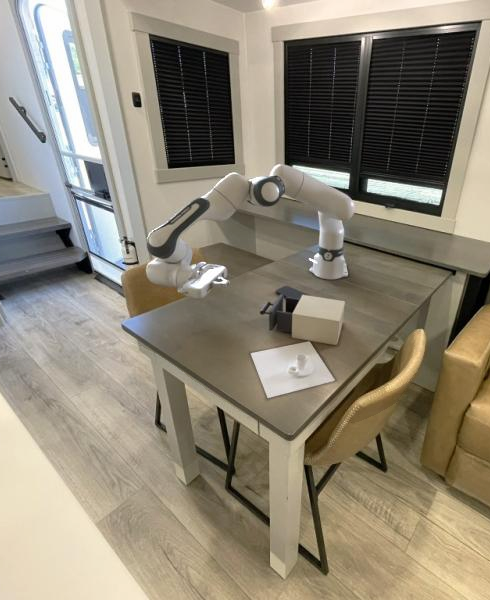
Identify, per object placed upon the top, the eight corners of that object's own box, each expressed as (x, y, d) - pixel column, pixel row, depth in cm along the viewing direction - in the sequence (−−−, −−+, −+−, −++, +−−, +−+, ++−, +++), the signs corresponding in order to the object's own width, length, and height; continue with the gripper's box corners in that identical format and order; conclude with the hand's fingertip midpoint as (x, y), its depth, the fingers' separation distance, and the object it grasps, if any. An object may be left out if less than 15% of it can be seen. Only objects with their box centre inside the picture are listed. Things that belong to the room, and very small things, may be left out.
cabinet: (291, 337, 112) (292, 313, 107) (301, 317, 124) (302, 294, 119) (336, 345, 110) (339, 321, 105) (342, 323, 121) (345, 301, 117)
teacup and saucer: (290, 380, 94) (290, 369, 92) (281, 363, 100) (281, 352, 98) (318, 373, 97) (319, 362, 95) (308, 357, 103) (309, 346, 101)
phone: (302, 303, 131) (274, 290, 138) (302, 305, 131) (274, 292, 139) (313, 296, 136) (286, 285, 144) (313, 298, 137) (286, 286, 144)
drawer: (257, 328, 114) (256, 309, 110) (269, 310, 124) (268, 292, 121) (310, 337, 111) (311, 318, 107) (317, 318, 122) (319, 300, 118)
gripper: (172, 282, 106) (212, 289, 104) (204, 260, 124) (239, 265, 122) (175, 299, 109) (214, 306, 107) (206, 275, 127) (240, 280, 125)
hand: (227, 284), depth 115 cm, fingers closed
